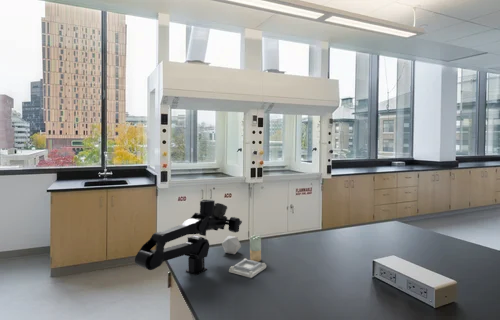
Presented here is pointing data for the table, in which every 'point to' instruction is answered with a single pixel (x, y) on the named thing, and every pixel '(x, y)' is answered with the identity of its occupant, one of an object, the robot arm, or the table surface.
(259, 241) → the tan and green cylinder
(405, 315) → the table surface
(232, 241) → the die
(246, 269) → the baseplate
